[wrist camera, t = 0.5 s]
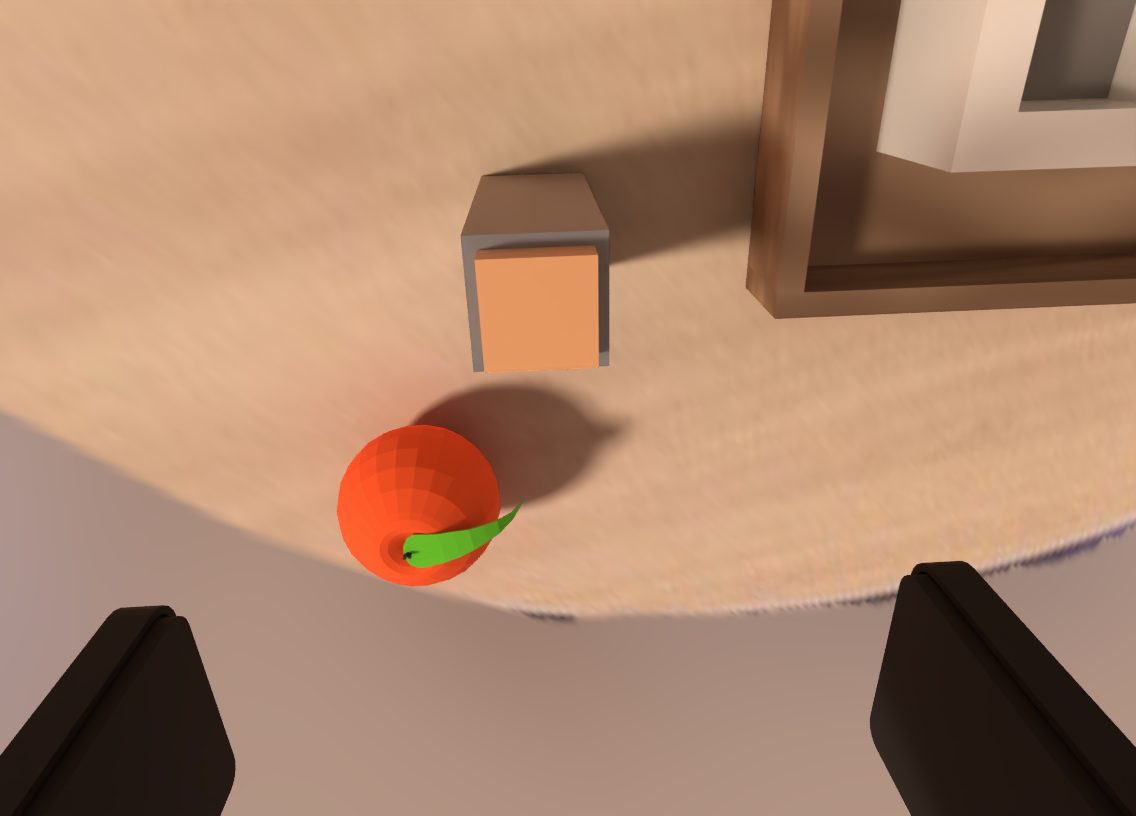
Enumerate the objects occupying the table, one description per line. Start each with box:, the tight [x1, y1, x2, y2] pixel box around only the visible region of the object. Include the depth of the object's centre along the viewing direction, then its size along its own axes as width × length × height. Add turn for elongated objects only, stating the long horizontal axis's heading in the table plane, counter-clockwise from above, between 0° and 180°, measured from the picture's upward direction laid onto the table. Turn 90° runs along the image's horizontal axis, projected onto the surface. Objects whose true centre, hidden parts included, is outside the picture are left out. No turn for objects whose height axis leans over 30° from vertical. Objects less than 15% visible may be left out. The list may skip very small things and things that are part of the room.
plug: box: [461, 172, 609, 373], centre depth 24 cm, size 4×4×11 cm
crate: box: [746, 0, 1136, 319], centre depth 25 cm, size 18×20×4 cm
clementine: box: [337, 425, 523, 586], centre depth 30 cm, size 8×7×7 cm
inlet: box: [876, 0, 1136, 173], centre depth 23 cm, size 9×9×5 cm
